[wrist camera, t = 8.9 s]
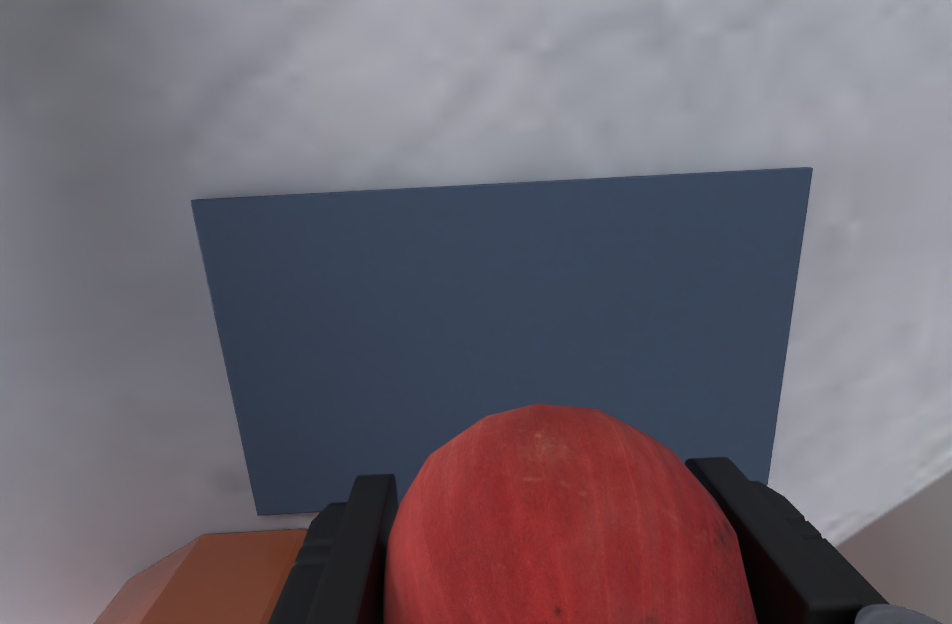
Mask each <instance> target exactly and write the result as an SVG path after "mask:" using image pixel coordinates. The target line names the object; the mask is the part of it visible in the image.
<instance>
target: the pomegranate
mask: <svg viewBox="0 0 952 624" xmlns="http://www.w3.org/2000/svg"><path fill="white" fill-rule="evenodd" d="M383 624H758V623H757V618H756V614H755V610H754V606H753V602H752V598H751V594H750V590H749V586H748V582H747V578H746V574H745V570H744V565H743V561H742V556H741V552H740V547H739V543H738V538H737V534H736V532H735V531H734V529H733V527H732V526H731V524H730V523H729V521H728V519H727V518H726V516H725V514H724V513H723V511H722V510H721V508H720V506H719V505H718V503H717V502H716V500H715V499H714V498H713V497H712V495H711V494H710V493H709V492H708V491H707V490H706V489H705V487H704V486H703V485H702V484H701V483H700V482H699V481H698V479H697V478H696V477H695V476H694V475H693V474H692V472H691V471H690V470H689V469H688V468H687V467H686V466H685V464H684V463H683V462H682V461H681V460H680V459H679V458H678V456H677V455H676V454H675V453H674V452H673V451H672V450H670V449H669V448H667V447H666V446H664V445H663V444H661V443H660V442H658V441H657V440H655V439H654V438H652V437H651V436H649V435H648V434H646V433H644V432H642V431H640V430H638V429H636V428H634V427H632V426H630V425H628V424H626V423H624V422H622V421H620V420H618V419H616V418H614V417H612V416H610V415H608V414H606V413H604V412H602V411H600V410H598V409H592V408H581V407H570V406H559V405H547V404H533V405H529V406H525V407H521V408H517V409H513V410H509V411H505V412H501V413H497V414H493V415H489V416H486V417H485V418H483V419H481V420H479V421H478V422H477V423H475V424H474V425H472V426H471V427H469V428H468V429H466V430H465V431H464V432H462V433H461V434H459V435H458V436H456V437H455V438H453V439H452V440H451V441H449V442H448V443H446V444H445V445H443V446H442V447H440V448H439V449H438V450H436V451H435V452H433V453H432V454H430V455H429V457H428V458H427V460H426V461H425V463H424V465H423V466H422V468H421V470H420V471H419V473H418V475H417V476H416V478H415V479H414V481H413V483H412V484H411V486H410V488H409V489H408V491H407V493H406V494H405V496H404V498H403V499H402V501H401V502H400V505H399V508H398V511H397V514H396V517H395V520H394V523H393V526H392V529H391V532H390V535H389V538H388V546H387V555H386V564H385V574H384V583H383Z"/></svg>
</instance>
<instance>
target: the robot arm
mask: <svg viewBox="0 0 952 624" xmlns="http://www.w3.org/2000/svg"><path fill="white" fill-rule="evenodd" d="M684 464H685V466H686V467H687V468H688V469H689V470H690V471H691V472H692V474H693V475H694V476H695V477H696V478H697V479H698V481H699V482H700V483H701V484H702V485H703V486H704V487H705V489H706V490H707V491H708V492H709V493H710V494H711V495H712V497H713V498H714V499H715V500H716V502H717V503H718V505H719V506H720V508H721V510H722V511H723V513H724V514H725V516H726V518H727V519H728V521H729V523H730V524H731V526H732V527H733V529H734V531H735V532H736V534H737V538H738V543H739V547H740V552H741V556H742V561H743V565H744V570H745V574H746V578H747V582H748V586H749V590H750V594H751V598H752V602H753V606H754V610H755V614H756V618H757V623H758V624H942V623H940V622H938V621H937V620H935V619H933V618H931V617H929V616H926V615H924V614H922V613H919V612H917V611H914V610H911V609H907V608H905V607H901V606H896V605H890V604H889V603H888V602H887V601H886V600H885V599H884V598H883V597H882V596H881V595H880V594H879V593H878V592H877V591H876V590H875V589H874V588H873V587H872V586H871V585H870V584H869V583H868V582H867V581H866V579H865V578H864V577H863V576H861V574H860V573H859V572H858V571H857V570H856V569H855V568H854V567H853V566H852V565H851V564H850V563H849V562H848V561H847V560H846V559H845V558H844V557H843V556H842V555H841V554H840V553H839V552H838V551H837V550H836V549H835V548H834V547H833V546H832V545H831V544H830V543H829V542H828V541H827V540H826V539H825V538H824V539H822V537H821V533H820V532H819V531H818V530H817V529H816V528H815V527H814V526H813V525H812V524H811V523H810V522H809V521H805V519H804V516H803V515H802V514H801V513H800V512H799V511H798V510H797V509H796V508H795V507H794V506H793V505H792V504H791V503H790V502H789V501H788V500H787V499H786V498H785V497H784V496H782V495H781V494H779V493H777V492H776V491H774V490H772V489H771V488H769V487H767V486H766V485H764V484H763V483H761V482H759V481H749V479H748V478H747V477H746V476H745V475H744V474H743V473H742V472H741V471H740V470H739V469H738V467H737V466H736V465H735V464H734V463H733V462H732V461H731V460H730V459H729V458H727V457H709V458H690V459H687V460H686V461H685V463H684ZM398 508H399V504H398V495H397V485H396V479H395V475H394V474H375V475H358V476H357V477H356V479H355V481H354V484H353V487H352V490H351V493H350V496H349V499H348V501H347V502H338V503H329V504H328V505H327V507H326V508H325V509H324V510H323V511H322V512H321V513H320V514H319V515H318V516H317V517H316V518H315V519H314V520H313V521H312V522H311V524H310V527H309V529H308V531H307V534H306V536H305V538H304V541H303V543H302V548H300V550H299V552H298V555H297V557H296V559H295V561H294V567H292V568H291V571H290V573H289V575H288V578H287V580H286V582H285V585H284V587H283V589H282V592H281V594H280V596H279V599H278V601H277V603H276V606H275V608H274V610H273V612H272V615H271V617H270V619H269V622H268V624H383V583H384V574H385V564H386V555H387V546H388V538H389V535H390V532H391V529H392V526H393V523H394V520H395V517H396V514H397V511H398Z"/></svg>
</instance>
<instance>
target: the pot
mask: <svg viewBox="0 0 952 624" xmlns="http://www.w3.org/2000/svg"><path fill="white" fill-rule="evenodd" d="M307 531H308V530H305V529H289V530H272V531H256V532H239V533H223V534H206V535H203V536H200V537H199V538H197V539H195V540H194V541H192V542H190V543H189V544H187V545H185V546H184V547H182V548H181V549H179V550H177V551H176V552H174V553H172V554H171V555H169V556H167V557H166V558H164V559H162V560H161V561H159V562H157V563H156V564H154V565H153V566H151V567H149V568H148V569H146V570H144V571H143V572H141V573H139V574H138V575H136V576H134V577H133V578H131V579H130V580H128V581H127V583H126V584H125V585H124V586H123V587H122V589H121V590H120V591H119V592H118V594H117V595H116V596H115V597H114V599H113V600H112V601H111V602H110V604H109V605H108V606H107V607H106V609H105V610H104V611H103V612H102V613H101V615H100V616H99V617H98V618H97V620H96V621H95V622H94V623H93V624H268V622H269V619H270V617H271V615H272V612H273V610H274V608H275V606H276V603H277V601H278V599H279V596H280V594H281V592H282V589H283V587H284V585H285V582H286V580H287V578H288V575H289V573H290V571H291V568H292V567H294V561H295V559H296V557H297V555H298V552H299V550H300V548H302V543H303V541H304V538H305V536H306V534H307Z"/></svg>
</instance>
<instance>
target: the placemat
mask: <svg viewBox="0 0 952 624" xmlns="http://www.w3.org/2000/svg"><path fill="white" fill-rule="evenodd" d="M812 170H813V168H811V167H802V168H783V169H764V170H745V171H727V172H708V173H689V174H670V175H651V176H632V177H613V178H594V179H575V180H556V181H537V182H519V183H500V184H481V185H462V186H443V187H424V188H405V189H386V190H367V191H348V192H330V193H311V194H292V195H273V196H254V197H235V198H216V199H197V200H191V201H190V202H191V207H192V212H193V216H194V221H195V226H196V230H197V235H198V240H199V244H200V249H201V254H202V258H203V263H204V268H205V272H206V277H207V282H208V286H209V291H210V296H211V300H212V305H213V310H214V314H215V319H216V324H217V328H218V333H219V338H220V342H221V347H222V352H223V356H224V361H225V366H226V370H227V375H228V380H229V384H230V389H231V393H232V398H233V403H234V407H235V412H236V417H237V421H238V426H239V431H240V435H241V440H242V445H243V449H244V454H245V459H246V463H247V468H248V473H249V477H250V482H251V487H252V491H253V496H254V501H255V505H256V510H257V515H258V516H259V515H276V514H293V513H309V512H322V511H323V510H324V509H325V508H326V507H327V505H328V504H329V503H338V502H347V501H348V499H349V496H350V493H351V490H352V487H353V484H354V481H355V479H356V477H357V476H358V475H375V474H394V475H395V479H396V485H397V495H398V504H399V505H400V502H401V501H402V499H403V498H404V496H405V494H406V493H407V491H408V489H409V488H410V486H411V484H412V483H413V481H414V479H415V478H416V476H417V475H418V473H419V471H420V470H421V468H422V466H423V465H424V463H425V461H426V460H427V458H428V457H429V455H430V454H432V453H433V452H435V451H436V450H438V449H439V448H440V447H442V446H443V445H445V444H446V443H448V442H449V441H451V440H452V439H453V438H455V437H456V436H458V435H459V434H461V433H462V432H464V431H465V430H466V429H468V428H469V427H471V426H472V425H474V424H475V423H477V422H478V421H479V420H481V419H483V418H485V417H486V416H489V415H493V414H497V413H501V412H505V411H509V410H513V409H517V408H521V407H525V406H529V405H533V404H547V405H559V406H570V407H581V408H592V409H598V410H600V411H602V412H604V413H606V414H608V415H610V416H612V417H614V418H616V419H618V420H620V421H622V422H624V423H626V424H628V425H630V426H632V427H634V428H636V429H638V430H640V431H642V432H644V433H646V434H648V435H649V436H651V437H652V438H654V439H655V440H657V441H658V442H660V443H661V444H663V445H664V446H666V447H667V448H669V449H670V450H672V451H673V452H674V453H675V454H676V455H677V456H678V458H679V459H680V460H681V461H682V462H683V463H685V461H686V460H687V459H690V458H709V457H727V458H729V459H730V460H731V461H732V462H733V463H734V464H735V465H736V466H737V467H738V469H739V470H740V471H741V472H742V473H743V474H744V475H745V476H746V477H747V478H748V479H749V481H759V482H761V483H763V484H764V485H767V484H768V478H769V471H770V464H771V457H772V450H773V443H774V436H775V429H776V422H777V415H778V408H779V401H780V394H781V387H782V380H783V373H784V366H785V359H786V352H787V345H788V338H789V331H790V324H791V317H792V310H793V303H794V296H795V289H796V282H797V275H798V268H799V261H800V254H801V247H802V240H803V233H804V226H805V219H806V212H807V205H808V198H809V191H810V184H811V177H812Z"/></svg>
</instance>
